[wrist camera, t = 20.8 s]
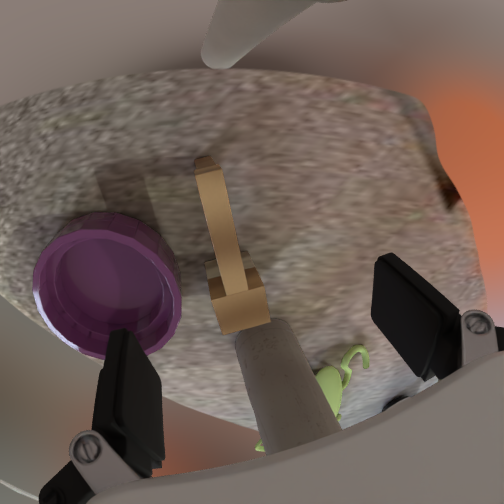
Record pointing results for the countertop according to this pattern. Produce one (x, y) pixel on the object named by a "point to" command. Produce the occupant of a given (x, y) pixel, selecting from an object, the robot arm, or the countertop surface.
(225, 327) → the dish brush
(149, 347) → the bowl
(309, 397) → the thermos bottle
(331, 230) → the countertop surface
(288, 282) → the countertop surface
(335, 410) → the figurine
